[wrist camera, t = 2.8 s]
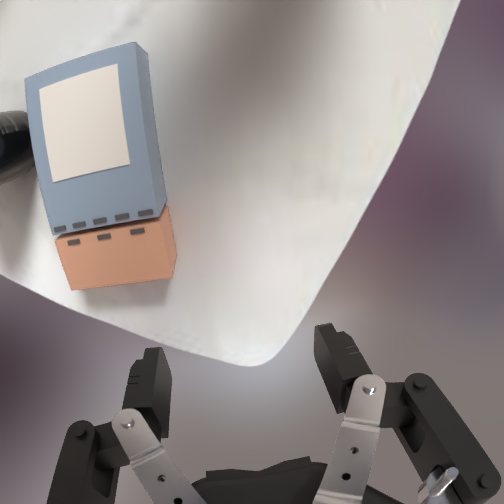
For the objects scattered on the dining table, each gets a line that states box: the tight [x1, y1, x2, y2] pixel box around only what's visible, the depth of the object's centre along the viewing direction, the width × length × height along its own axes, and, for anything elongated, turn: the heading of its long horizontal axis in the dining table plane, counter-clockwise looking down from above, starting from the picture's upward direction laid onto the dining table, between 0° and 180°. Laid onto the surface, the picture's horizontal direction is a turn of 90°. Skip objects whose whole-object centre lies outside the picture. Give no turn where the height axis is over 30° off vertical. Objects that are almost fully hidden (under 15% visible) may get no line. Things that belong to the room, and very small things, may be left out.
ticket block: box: [25, 42, 167, 236], centre depth 23 cm, size 10×14×5 cm
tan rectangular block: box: [55, 206, 177, 290], centre depth 27 cm, size 10×5×5 cm, turn 95°
